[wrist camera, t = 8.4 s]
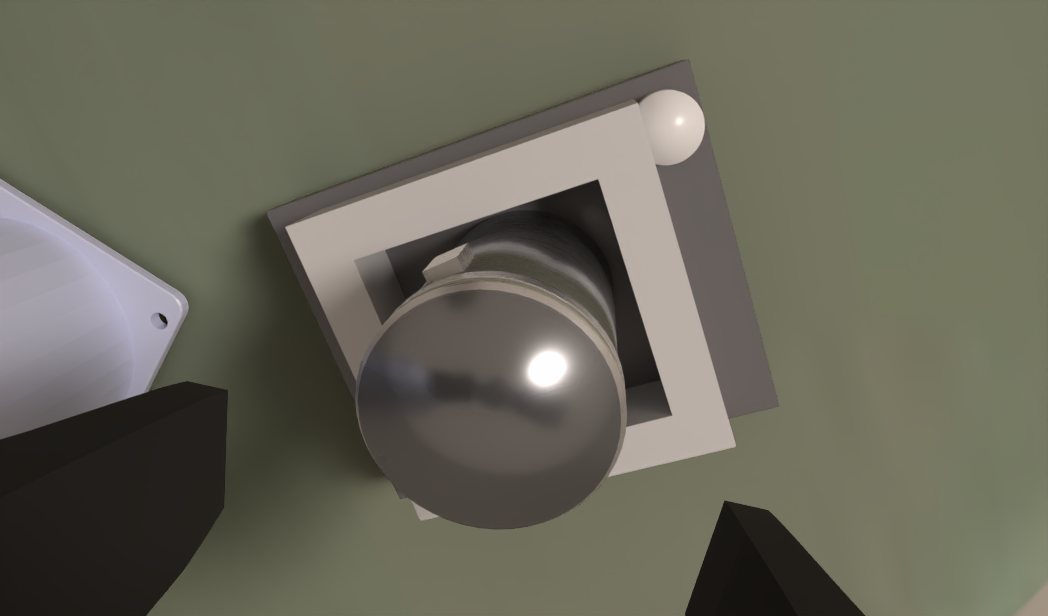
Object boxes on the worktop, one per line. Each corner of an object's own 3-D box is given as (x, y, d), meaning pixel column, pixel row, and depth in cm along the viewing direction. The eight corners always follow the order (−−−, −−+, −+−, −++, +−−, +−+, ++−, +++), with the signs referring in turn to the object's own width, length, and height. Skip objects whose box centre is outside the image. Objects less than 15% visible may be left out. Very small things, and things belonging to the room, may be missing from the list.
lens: (645, 340, 17) (669, 488, 11) (486, 398, 18) (429, 563, 12) (571, 169, 16) (553, 230, 10) (406, 244, 17) (297, 340, 11)
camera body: (414, 468, 21) (378, 544, 18) (292, 200, 19) (225, 229, 15) (765, 379, 19) (800, 447, 16) (681, 60, 16) (701, 57, 13)
